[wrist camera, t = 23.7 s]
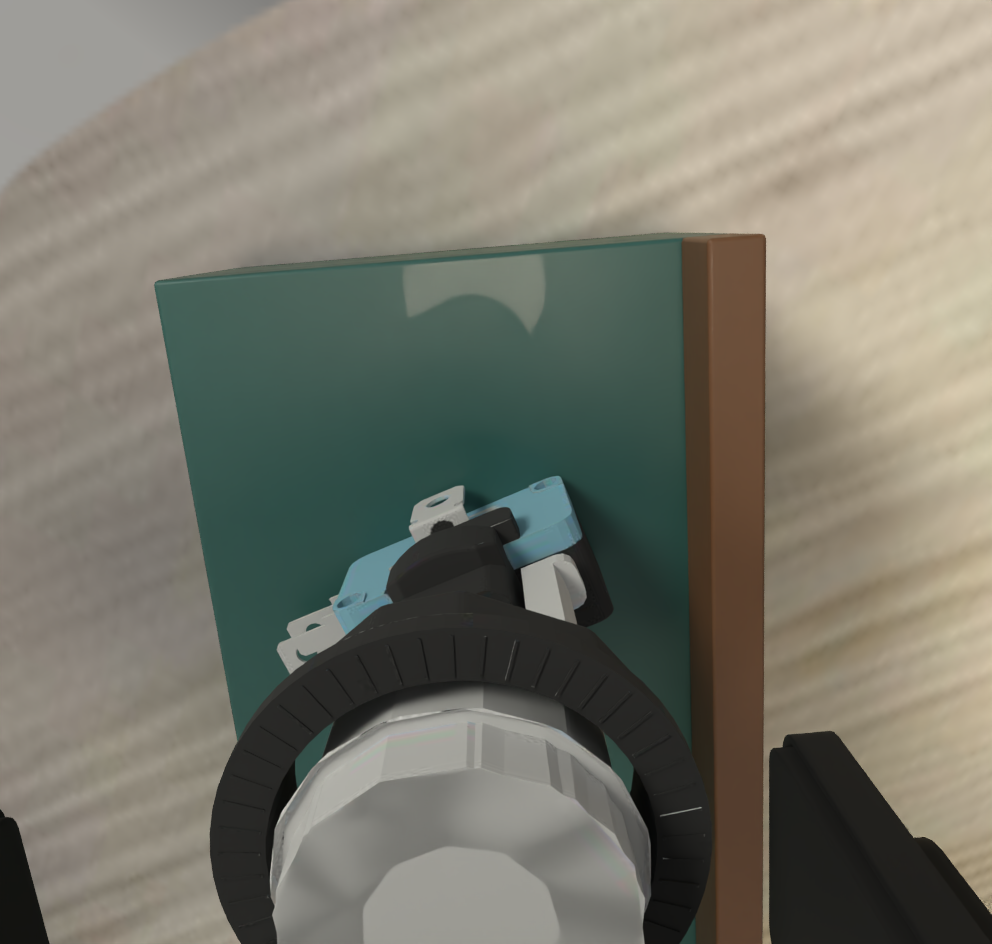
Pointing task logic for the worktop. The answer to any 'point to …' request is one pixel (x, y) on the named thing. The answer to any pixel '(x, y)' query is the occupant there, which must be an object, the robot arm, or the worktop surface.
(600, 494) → the shelf
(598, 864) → the push button
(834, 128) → the worktop surface
